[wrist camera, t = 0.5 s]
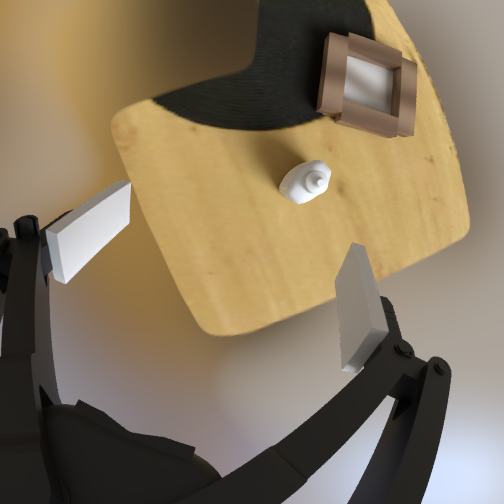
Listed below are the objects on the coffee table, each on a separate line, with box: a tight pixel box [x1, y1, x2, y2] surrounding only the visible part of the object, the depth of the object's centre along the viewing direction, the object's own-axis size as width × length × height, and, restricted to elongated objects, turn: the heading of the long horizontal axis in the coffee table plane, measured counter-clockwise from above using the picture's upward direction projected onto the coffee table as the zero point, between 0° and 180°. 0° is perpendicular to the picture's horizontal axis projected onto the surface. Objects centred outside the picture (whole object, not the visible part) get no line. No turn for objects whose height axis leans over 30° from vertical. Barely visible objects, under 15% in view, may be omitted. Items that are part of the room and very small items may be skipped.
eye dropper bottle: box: [279, 160, 331, 204], centre depth 33 cm, size 4×6×12 cm
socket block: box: [316, 32, 417, 138], centre depth 34 cm, size 14×14×3 cm
